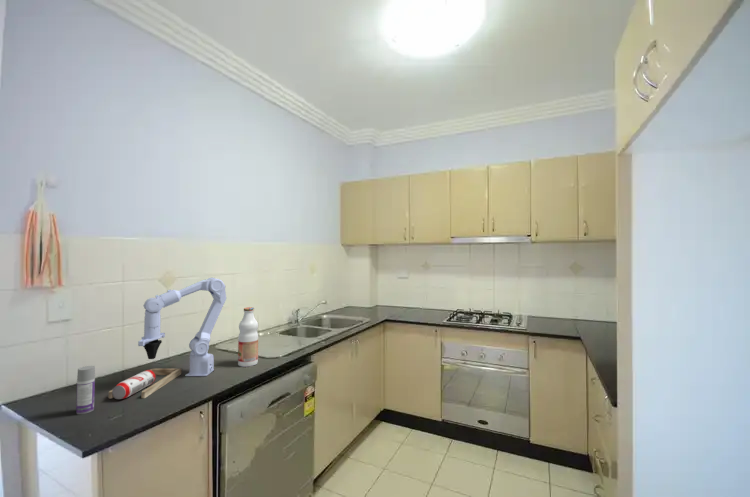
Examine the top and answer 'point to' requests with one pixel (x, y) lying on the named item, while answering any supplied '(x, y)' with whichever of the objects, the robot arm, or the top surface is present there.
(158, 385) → the u rest
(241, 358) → the fruit juice
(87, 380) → the container
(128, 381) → the beer can
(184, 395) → the top surface
